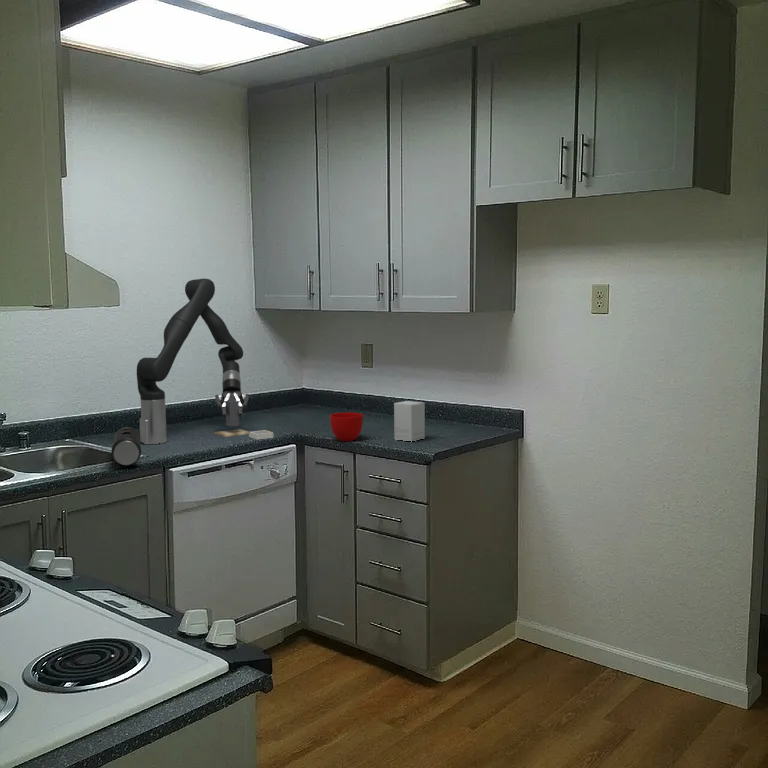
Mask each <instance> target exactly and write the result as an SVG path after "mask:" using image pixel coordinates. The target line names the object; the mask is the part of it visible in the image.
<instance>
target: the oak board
mask: <svg viewBox="0 0 768 768" xmlns="http://www.w3.org/2000/svg"><path fill="white" fill-rule="evenodd" d="M249 432H250V431H248V430H246V429H245V430H244V429H242V428H239V429H230V430H221V431H215V432H213V433H214V434H215V435H218V436H220V437H223V438H228V437H236V436H245V435H249Z"/></svg>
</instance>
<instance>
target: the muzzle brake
mask: <svg viewBox="0 0 768 768" xmlns="http://www.w3.org/2000/svg"><path fill="white" fill-rule="evenodd" d="M141 454H142V447H141V442H140V432H138V431H137V429H136V428H134V427H131V426H123V427H121V428H119V429H118V430H117V431H116V432H115V434H114V437H113V443H112V447H111V457H112V459H113V460H114V462H115V463H117V464H118V465H120V466H125V467H126V466H127V467H128V466H132V465H134V464H136V463H137V462H138V461H139V460H140V457H141Z"/></svg>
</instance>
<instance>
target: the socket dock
mask: <svg viewBox="0 0 768 768" xmlns="http://www.w3.org/2000/svg"><path fill="white" fill-rule="evenodd" d="M248 432H249V434H248V437H249V438H251V439H254V440H264V439H266V440H267V439H272V438H273V439H274V432H273V431H272V430H271V431H269V430H266V429H263V430H255V431H248Z"/></svg>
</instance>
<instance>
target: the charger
mask: <svg viewBox="0 0 768 768" xmlns="http://www.w3.org/2000/svg"><path fill="white" fill-rule="evenodd" d="M225 403H226V417H225V425H226V426H228V427H237V426H240V417H239V401H236V400H231V401H225Z"/></svg>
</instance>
